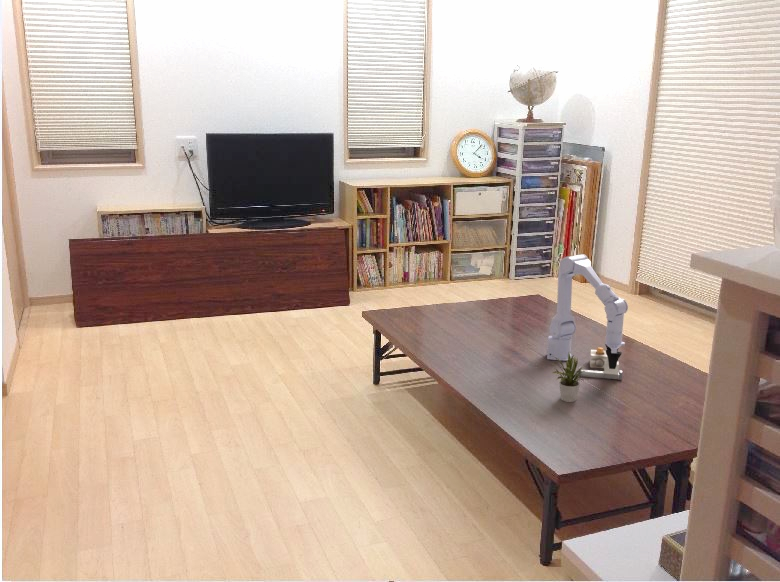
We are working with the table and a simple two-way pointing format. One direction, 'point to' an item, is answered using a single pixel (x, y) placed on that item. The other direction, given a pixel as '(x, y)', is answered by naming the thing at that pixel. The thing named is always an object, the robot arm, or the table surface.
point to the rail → (597, 374)
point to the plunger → (599, 350)
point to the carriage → (611, 371)
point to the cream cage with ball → (597, 359)
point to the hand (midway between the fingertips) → (611, 365)
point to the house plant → (569, 379)
